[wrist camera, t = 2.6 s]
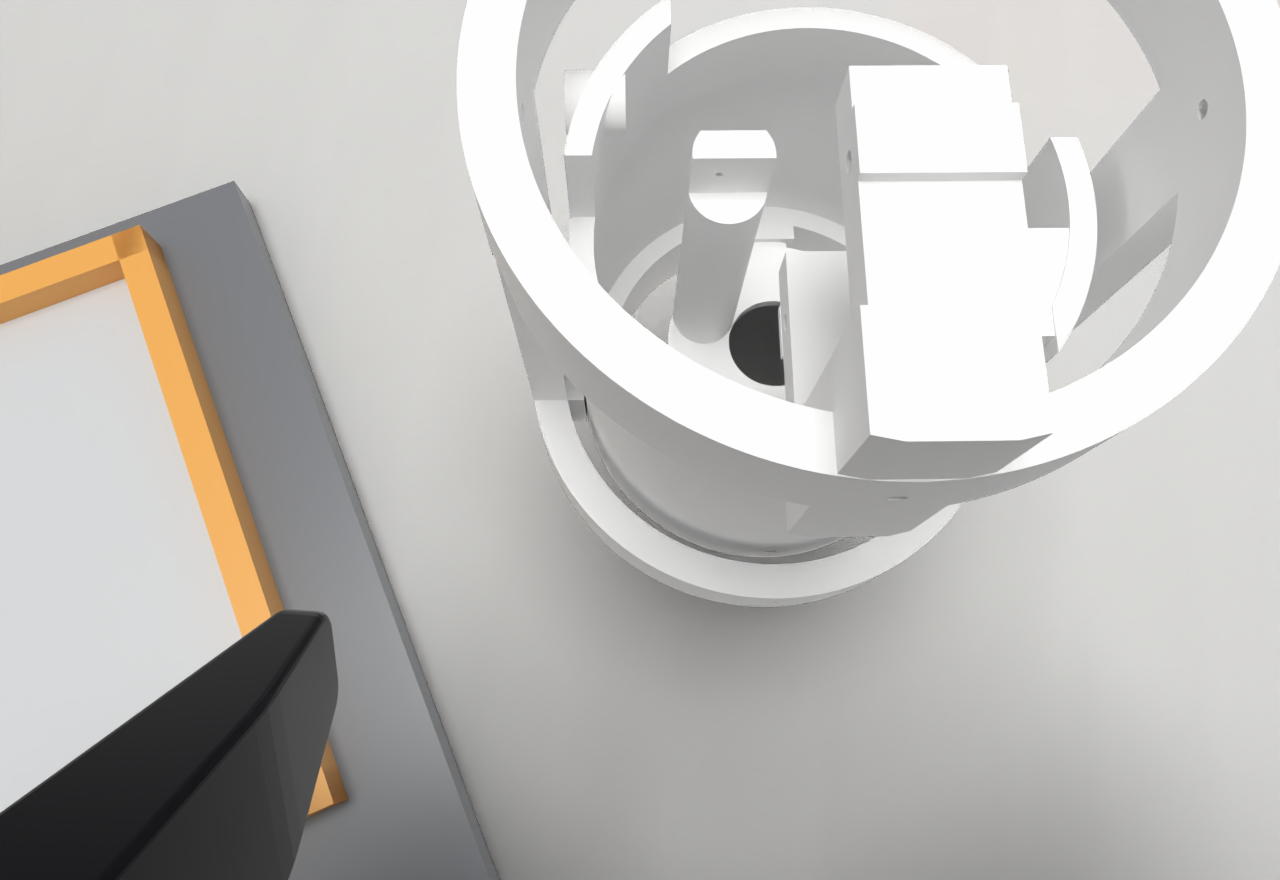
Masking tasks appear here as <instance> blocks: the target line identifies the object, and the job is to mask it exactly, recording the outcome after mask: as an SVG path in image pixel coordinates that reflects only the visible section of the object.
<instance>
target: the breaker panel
mask: <svg viewBox="0 0 1280 880" xmlns="http://www.w3.org/2000/svg"><path fill="white" fill-rule="evenodd" d="M288 609H291V610H306V611H320V612H323V613H325V614H326V615H327V616H328V617H329V619H330V622H331V625H332V631H333V639H334V648H335V656H336V664H337V672H338V682H339V686H338V699H337V705H336V709H335V713H334V717H333V721H332V725H331V728H330V732H329V736H328V740H327V744H326V747H325V751H324V755H323V759H322V763H321V766H320V770H319V774H318V778H317V782H316V785H315V789H314V793H313V797H312V801H311V804H310V808H309V812H308V816H307V820H306V823H305V827H304V831H303V835H302V839H301V842H300V846H299V849H298V853H297V856H296V860H295V863H294V866H293V869H292V872H291V874H290V877H289V880H499V878H498V875H497V872H496V870H495V867H494V864H493V862H492V859H491V856H490V853H489V851H488V848H487V845H486V843H485V840H484V837H483V834H482V832H481V829H480V826H479V824H478V821H477V818H476V815H475V813H474V810H473V807H472V805H471V802H470V799H469V796H468V794H467V791H466V788H465V786H464V783H463V780H462V777H461V775H460V772H459V769H458V767H457V764H456V761H455V758H454V756H453V753H452V750H451V748H450V745H449V742H448V739H447V737H446V734H445V731H444V729H443V726H442V723H441V720H440V718H439V715H438V712H437V710H436V707H435V704H434V701H433V699H432V696H431V693H430V691H429V688H428V685H427V682H426V680H425V677H424V674H423V672H422V669H421V666H420V663H419V661H418V658H417V655H416V653H415V650H414V647H413V644H412V642H411V639H410V636H409V634H408V631H407V628H406V625H405V623H404V620H403V617H402V615H401V612H400V609H399V606H398V604H397V601H396V598H395V596H394V593H393V590H392V587H391V585H390V582H389V579H388V577H387V574H386V571H385V568H384V566H383V563H382V560H381V558H380V555H379V552H378V549H377V547H376V544H375V541H374V539H373V536H372V533H371V530H370V528H369V525H368V522H367V520H366V517H365V514H364V511H363V509H362V506H361V503H360V501H359V498H358V495H357V492H356V490H355V487H354V484H353V482H352V479H351V476H350V473H349V471H348V468H347V465H346V463H345V460H344V457H343V454H342V452H341V449H340V446H339V444H338V441H337V438H336V435H335V433H334V430H333V427H332V425H331V422H330V419H329V416H328V414H327V411H326V408H325V406H324V403H323V400H322V397H321V395H320V392H319V389H318V387H317V384H316V381H315V378H314V376H313V373H312V370H311V368H310V365H309V362H308V359H307V357H306V354H305V351H304V349H303V346H302V343H301V340H300V338H299V335H298V332H297V330H296V327H295V324H294V321H293V319H292V316H291V313H290V311H289V308H288V305H287V302H286V300H285V297H284V294H283V292H282V289H281V286H280V283H279V281H278V278H277V275H276V273H275V270H274V267H273V264H272V262H271V259H270V256H269V254H268V251H267V248H266V245H265V243H264V240H263V237H262V235H261V232H260V229H259V226H258V224H257V221H256V218H255V216H254V213H253V210H252V207H251V205H250V203H249V201H248V200H247V199H246V197H245V196H244V194H243V193H242V192H241V190H240V189H239V187H238V186H237V185H236V183H235V182H234V181H232V182H230V183H227V184H224V185H221V186H219V187H216V188H213V189H210V190H208V191H205V192H202V193H199V194H197V195H194V196H191V197H188V198H185V199H183V200H180V201H177V202H174V203H172V204H169V205H166V206H163V207H161V208H158V209H155V210H152V211H150V212H147V213H144V214H141V215H138V216H136V217H133V218H130V219H127V220H125V221H122V222H119V223H116V224H114V225H111V226H108V227H105V228H103V229H100V230H97V231H94V232H91V233H89V234H86V235H83V236H80V237H78V238H75V239H72V240H69V241H67V242H64V243H61V244H58V245H56V246H53V247H50V248H47V249H44V250H42V251H39V252H36V253H33V254H31V255H28V256H25V257H22V258H20V259H17V260H14V261H11V262H9V263H6V264H3V265H0V812H2V811H3V810H4V809H6V808H7V807H9V806H10V805H11V804H13V803H14V802H15V801H17V800H18V799H20V798H21V797H22V796H24V795H25V794H26V793H28V792H29V791H31V790H32V789H33V788H35V787H36V786H38V785H39V784H40V783H42V782H43V781H44V780H46V779H47V778H49V777H50V776H51V775H53V774H54V773H56V772H57V771H58V770H60V769H61V768H62V767H64V766H65V765H67V764H68V763H69V762H71V761H72V760H73V759H75V758H76V757H78V756H79V755H80V754H82V753H83V752H85V751H86V750H87V749H89V748H90V747H91V746H93V745H94V744H96V743H97V742H98V741H100V740H101V739H103V738H104V737H105V736H107V735H108V734H109V733H111V732H112V731H114V730H115V729H116V728H118V727H119V726H120V725H122V724H123V723H125V722H126V721H127V720H129V719H130V718H132V717H133V716H134V715H136V714H137V713H138V712H140V711H141V710H143V709H144V708H145V707H147V706H148V705H150V704H151V703H152V702H154V701H155V700H156V699H158V698H159V697H161V696H162V695H163V694H165V693H166V692H167V691H169V690H170V689H172V688H173V687H174V686H176V685H177V684H179V683H180V682H181V681H183V680H184V679H185V678H187V677H188V676H190V675H191V674H192V673H194V672H195V671H196V670H198V669H199V668H201V667H202V666H203V665H205V664H206V663H208V662H209V661H210V660H212V659H213V658H214V657H216V656H217V655H219V654H220V653H221V652H223V651H224V650H226V649H227V648H228V647H230V646H231V645H232V644H234V643H235V642H237V641H238V640H239V639H241V638H242V637H243V636H245V635H246V634H248V633H249V632H250V631H252V630H253V629H255V628H256V627H257V626H259V625H260V624H261V623H263V622H264V621H266V620H267V619H268V618H270V617H271V616H273V615H274V614H276V613H277V612H279V611H282V610H288Z"/></svg>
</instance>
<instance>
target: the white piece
mask: <svg viewBox="0 0 1280 880" xmlns="http://www.w3.org/2000/svg"><path fill="white" fill-rule="evenodd" d="M574 1H575V0H468V1H467V5H466V9H465V13H464V18H463V23H462V28H461V34H460V41H459V49H458V60H457V107H458V119H459V127H460V134H461V140H462V145H463V151H464V155H465V160H466V164H467V168H468V171H469V175H470V179H471V182H472V186H473V189H474V193H475V196H476V200H477V203H478V207H479V211H480V214H481V218H482V221H483V225H484V228H485V232H486V236H487V239H488V242H489V246H490V249H491V252H492V255H494V257H495V259H496V263H497V266H498V270H499V273H500V277H501V281H502V284H503V288H504V292H505V295H506V299H507V302H508V306H509V310H510V313H511V317H512V321H513V324H514V328H515V332H516V335H517V339H518V342H519V346H520V350H521V353H522V357H523V361H524V364H525V368H526V371H527V375H528V379H529V382H530V386H531V390H532V393H533V397H534V401H535V407H536V412H537V416H538V421H539V424H540V428H541V431H542V435H543V439H544V442H545V446H546V449H547V452H548V455H549V458H550V461H551V464H552V466H553V469H554V471H555V474H556V476H557V478H558V480H559V482H560V484H561V486H562V488H563V490H564V492H565V493H566V495H567V497H568V498H569V500H570V502H571V503H572V505H573V506H574V508H575V509H576V511H577V512H578V513H579V515H580V516H581V517H582V519H583V520H584V521H585V522H586V524H587V525H588V526H589V527H590V528H591V530H592V531H593V532H594V533H595V534H596V535H597V536H598V537H599V538H600V539H601V540H602V541H603V542H604V543H605V544H606V545H607V546H608V547H609V548H610V549H612V550H613V551H614V552H615V553H616V554H617V555H619V556H620V557H621V558H623V559H624V560H625V561H626V562H628V563H629V564H631V565H632V566H634V567H635V568H637V569H638V570H640V571H641V572H643V573H644V574H646V575H648V576H650V577H651V578H653V579H655V580H657V581H659V582H661V583H663V584H665V585H667V586H669V587H672V588H674V589H676V590H679V591H681V592H684V593H687V594H690V595H693V596H696V597H699V598H703V599H706V600H710V601H715V602H719V603H725V604H731V605H739V606H750V607H779V606H790V605H798V604H804V603H809V602H814V601H818V600H822V599H826V598H829V597H832V596H836V595H838V594H841V593H844V592H847V591H849V590H851V589H854V588H856V587H858V586H860V585H862V584H864V583H866V582H868V581H870V580H872V579H874V578H875V577H877V576H879V575H881V574H882V573H884V572H886V571H887V570H889V569H891V568H892V567H894V566H896V565H897V564H899V563H901V562H902V561H904V560H905V559H907V558H908V557H910V556H911V555H912V554H914V553H915V552H916V551H918V550H919V549H920V548H921V547H923V546H924V545H925V544H926V543H927V542H929V541H930V540H931V539H932V538H933V537H934V536H935V535H936V534H937V533H938V532H939V531H940V530H941V529H942V528H943V527H944V526H945V525H946V524H947V523H948V521H949V520H950V519H951V518H952V517H953V515H954V514H955V513H956V512H957V510H958V509H959V508H960V506H961V505H962V503H963V502H967V501H971V500H975V499H979V498H983V497H987V496H990V495H994V494H997V493H1000V492H1003V491H1006V490H1009V489H1012V488H1015V487H1018V486H1020V485H1023V484H1025V483H1028V482H1030V481H1033V480H1035V479H1037V478H1040V477H1042V476H1044V475H1046V474H1048V473H1050V472H1052V471H1054V470H1056V469H1058V468H1060V467H1062V466H1064V465H1066V464H1068V463H1069V462H1071V461H1073V460H1075V459H1076V458H1078V457H1080V456H1081V455H1083V454H1085V453H1086V452H1088V451H1090V450H1092V449H1093V448H1095V447H1097V446H1098V445H1100V444H1102V443H1103V442H1105V441H1107V440H1108V439H1110V438H1112V437H1113V436H1115V435H1117V434H1119V433H1120V432H1122V431H1124V430H1125V429H1127V428H1129V427H1130V426H1132V425H1134V424H1135V423H1137V422H1139V421H1140V420H1142V419H1144V418H1145V417H1147V416H1148V415H1150V414H1152V413H1153V412H1155V411H1156V410H1157V409H1159V408H1160V407H1162V406H1163V405H1165V404H1166V403H1167V402H1169V401H1170V400H1171V399H1173V398H1174V397H1175V396H1177V395H1178V394H1179V393H1180V392H1182V391H1183V390H1184V389H1185V388H1187V387H1188V386H1189V385H1190V384H1191V383H1192V382H1194V381H1195V380H1196V379H1197V378H1198V377H1199V376H1200V375H1201V374H1202V373H1203V372H1204V371H1205V370H1207V369H1208V368H1209V367H1210V366H1211V365H1212V364H1213V363H1214V361H1215V360H1216V359H1217V358H1218V357H1219V356H1220V355H1221V354H1222V353H1223V352H1224V351H1225V349H1226V348H1227V347H1228V346H1229V345H1230V344H1231V342H1232V341H1233V340H1234V339H1235V338H1236V336H1237V335H1238V334H1239V332H1240V331H1241V330H1242V328H1243V327H1244V326H1245V324H1246V323H1247V322H1248V320H1249V319H1250V317H1251V316H1252V314H1253V313H1254V311H1255V310H1256V308H1257V306H1258V305H1259V303H1260V302H1261V300H1262V298H1263V296H1264V295H1265V293H1266V291H1267V289H1268V287H1269V286H1270V284H1271V282H1272V280H1273V278H1274V276H1275V274H1276V271H1277V269H1278V267H1279V265H1280V8H1279V6H1278V3H1277V1H1276V0H1107V1H1108V2H1109V3H1110V4H1111V5H1112V7H1113V8H1114V9H1115V10H1116V12H1117V13H1118V14H1119V16H1120V17H1121V18H1122V20H1123V21H1124V22H1125V24H1126V25H1127V27H1128V28H1129V30H1130V31H1131V33H1132V34H1133V36H1134V37H1135V39H1136V41H1137V42H1138V44H1139V46H1140V47H1141V49H1142V51H1143V53H1144V54H1145V56H1146V58H1147V60H1148V62H1149V64H1150V66H1151V68H1152V70H1153V73H1154V75H1155V77H1156V79H1157V82H1158V84H1159V87H1160V91H1159V92H1158V93H1157V94H1156V95H1155V96H1154V98H1153V99H1152V100H1151V101H1150V102H1149V104H1148V105H1147V106H1146V107H1145V108H1144V110H1143V111H1142V112H1141V113H1140V114H1139V115H1138V117H1137V118H1136V119H1135V120H1134V121H1133V123H1132V124H1131V125H1130V126H1129V127H1128V129H1127V130H1126V131H1125V132H1124V133H1123V134H1122V136H1121V137H1120V138H1119V139H1118V140H1117V142H1116V143H1115V144H1114V145H1113V146H1112V148H1111V149H1110V150H1109V151H1108V152H1107V153H1106V155H1105V156H1104V157H1103V158H1102V159H1101V161H1100V162H1099V163H1098V164H1097V165H1096V167H1095V168H1094V169H1093V170H1092V171H1091V172H1090V171H1089V167H1088V164H1087V161H1086V158H1085V155H1084V152H1083V149H1082V147H1081V144H1080V142H1079V139H1078V137H1050V138H1049V139H1048V141H1047V142H1046V144H1045V145H1044V146H1043V148H1042V149H1041V151H1040V152H1039V153H1038V155H1037V156H1036V157H1035V159H1034V160H1033V162H1032V163H1031V164H1030V166H1029V167H1028V169H1027V162H1026V154H1025V147H1024V139H1023V131H1022V124H1021V116H1020V108H1019V103H1012V99H1011V97H1012V95H1011V91H1010V84H1009V76H1008V68H1007V65H978V64H976V63H975V62H974V61H972V60H971V59H969V58H968V57H967V56H965V55H964V54H962V53H961V52H959V51H957V50H956V49H954V48H953V47H951V46H949V45H947V44H946V43H944V42H942V41H940V40H938V39H936V38H934V37H932V36H930V35H928V34H926V33H924V32H922V31H919V30H917V29H915V28H912V27H910V26H907V25H904V24H902V23H899V22H896V21H893V20H889V19H886V18H882V17H879V16H875V15H871V14H866V13H861V12H856V11H850V10H843V9H834V8H820V7H793V8H780V9H771V10H764V11H758V12H753V13H748V14H744V15H740V16H736V17H732V18H729V19H726V20H723V21H720V22H717V23H714V24H711V25H709V26H706V27H704V28H702V29H699V30H697V31H695V32H693V33H691V34H689V35H687V36H685V37H683V38H681V39H679V40H678V41H676V42H674V43H672V44H671V45H670V31H671V8H670V0H662V1H660V2H659V3H657V4H656V5H655V6H653V7H652V8H651V9H649V10H648V11H647V12H646V13H644V14H643V15H642V16H641V17H640V18H639V19H637V20H636V21H635V22H634V23H633V24H632V25H631V26H630V27H629V28H628V29H627V30H626V31H625V32H624V33H623V34H622V35H621V36H620V37H619V38H618V40H617V41H616V42H615V43H614V44H613V45H612V47H611V48H610V49H609V50H608V52H607V53H606V54H605V56H604V57H603V58H602V60H601V61H600V63H599V64H598V66H597V67H596V69H595V70H565V78H564V97H565V123H566V134H567V135H568V136H567V140H566V145H565V151H564V162H565V171H566V181H567V190H568V200H569V209H570V224H569V245H568V243H567V242H566V240H565V238H564V237H563V235H562V234H561V232H560V230H559V229H558V227H557V225H556V223H555V222H554V220H553V218H552V216H551V210H550V203H549V195H548V188H547V181H546V174H545V167H544V160H543V153H542V146H541V139H540V132H539V125H538V118H537V111H536V104H535V97H534V89H535V85H536V81H537V78H538V74H539V71H540V68H541V65H542V62H543V59H544V57H545V54H546V52H547V49H548V47H549V45H550V42H551V40H552V38H553V36H554V34H555V32H556V30H557V28H558V26H559V25H560V23H561V21H562V19H563V18H564V16H565V14H566V13H567V11H568V10H569V8H570V6H571V5H572V4H573V2H574ZM1170 244H1171V247H1170V251H1169V254H1168V258H1167V261H1166V264H1165V267H1164V270H1163V272H1162V275H1161V278H1160V280H1159V283H1158V285H1157V287H1156V289H1155V292H1154V294H1153V296H1152V298H1151V300H1150V302H1149V304H1148V305H1147V307H1146V309H1145V311H1144V313H1143V314H1142V316H1141V317H1140V319H1139V321H1138V322H1137V324H1136V325H1135V327H1134V328H1133V330H1132V331H1131V332H1130V334H1129V335H1128V337H1127V338H1126V339H1125V341H1124V342H1123V343H1122V344H1121V346H1120V347H1119V348H1118V349H1117V350H1116V352H1115V353H1114V354H1113V355H1112V356H1111V357H1110V358H1109V359H1108V360H1107V361H1106V362H1105V363H1104V365H1103V366H1102V367H1101V368H1099V369H1098V370H1097V371H1095V372H1093V373H1091V374H1089V375H1088V376H1086V377H1084V378H1082V379H1080V380H1078V381H1076V382H1074V383H1072V384H1069V385H1067V386H1065V387H1063V388H1060V389H1058V390H1056V391H1053V392H1051V393H1049V387H1048V380H1047V372H1046V363H1047V362H1048V361H1049V360H1050V359H1051V358H1053V357H1054V356H1055V355H1056V354H1057V353H1058V352H1059V351H1060V350H1061V348H1062V347H1063V345H1064V343H1065V342H1066V340H1067V338H1068V337H1069V335H1070V333H1071V332H1072V331H1073V330H1074V329H1075V328H1076V327H1077V326H1079V325H1080V324H1081V323H1082V322H1083V321H1084V320H1085V319H1087V318H1088V317H1089V316H1090V315H1091V314H1092V313H1093V312H1094V311H1096V310H1097V309H1098V308H1099V307H1100V306H1101V305H1102V304H1104V303H1105V302H1106V301H1107V300H1108V299H1109V298H1110V297H1111V296H1113V295H1114V294H1115V293H1116V292H1117V291H1118V290H1119V289H1121V288H1122V287H1123V286H1124V285H1125V284H1126V283H1127V282H1128V281H1130V280H1131V279H1132V278H1133V277H1134V276H1135V275H1136V274H1138V273H1139V272H1140V271H1141V270H1142V269H1143V268H1144V267H1145V266H1147V265H1148V264H1149V263H1150V262H1151V261H1152V260H1153V259H1155V258H1156V257H1157V256H1158V255H1159V254H1160V253H1161V252H1162V251H1164V250H1165V249H1166V248H1167V247H1168V246H1169V245H1170ZM676 273H678V277H677V285H676V294H675V302H674V311H673V314H672V317H671V321H670V326H669V333H668V342H667V344H666V343H665V342H663V341H662V340H661V339H659V338H658V337H657V336H655V335H654V334H653V333H651V332H650V331H649V330H647V329H646V328H645V327H644V326H642V325H641V324H640V323H639V322H638V321H636V320H635V319H634V318H633V317H632V315H633V314H634V312H635V311H636V309H637V308H638V307H639V306H640V304H641V303H642V302H643V301H644V300H645V299H646V297H647V296H648V295H649V294H650V293H651V292H652V291H654V290H655V289H656V288H657V287H658V286H659V285H661V284H662V283H663V282H664V281H666V280H667V279H669V278H670V277H672V276H673V275H675V274H676ZM587 414H588V420H589V424H590V428H591V432H592V435H593V438H594V441H595V444H596V447H597V449H598V451H599V454H600V456H601V458H602V460H603V462H604V464H605V466H606V468H607V469H608V471H609V473H610V474H611V476H612V477H613V479H614V480H615V482H616V483H617V485H618V486H619V487H620V488H621V490H622V491H623V492H624V493H625V495H626V496H627V497H628V498H629V499H630V500H631V501H632V502H633V503H634V504H635V505H636V506H637V507H638V508H639V509H640V510H641V511H642V512H643V513H644V514H646V515H647V516H648V517H649V518H651V519H652V520H653V521H654V522H656V523H657V524H659V525H660V526H662V527H663V528H665V529H666V530H668V531H669V532H671V533H673V534H675V535H677V536H678V537H680V538H682V539H684V540H687V541H689V542H691V543H693V544H696V545H699V546H701V547H704V548H707V549H710V550H714V551H718V552H722V553H726V554H731V555H738V556H746V557H780V556H788V555H794V554H799V553H804V552H808V551H812V550H815V549H818V548H821V547H824V546H826V545H829V544H831V543H834V542H836V541H838V540H840V539H842V538H844V537H875V538H873V539H871V540H869V541H868V542H866V543H864V544H861V545H859V546H857V547H855V548H853V549H850V550H848V551H845V552H842V553H839V554H836V555H833V556H829V557H826V558H822V559H817V560H812V561H806V562H799V563H789V564H757V563H747V562H740V561H734V560H729V559H725V558H721V557H717V556H713V555H710V554H707V553H704V552H701V551H698V550H696V549H693V548H691V547H688V546H686V545H684V544H682V543H680V542H677V541H676V540H674V539H672V538H670V537H668V536H666V535H665V534H663V533H661V532H660V531H658V530H656V529H655V528H653V527H652V526H650V525H649V524H648V523H646V522H645V521H644V520H642V519H641V518H640V517H639V516H637V515H636V514H635V513H634V512H633V511H631V510H630V509H629V508H628V507H627V506H626V505H625V504H624V503H623V502H622V501H621V500H620V499H619V498H618V497H617V496H616V495H615V494H614V493H613V491H612V490H611V489H610V488H609V487H608V485H607V484H606V483H605V482H604V480H603V479H602V478H601V476H600V475H599V473H598V472H597V470H596V469H595V467H594V466H593V464H592V463H591V461H590V459H589V457H588V455H587V454H586V452H585V450H584V448H583V446H582V443H581V441H580V439H579V437H578V434H577V431H576V429H575V426H574V423H573V421H587ZM876 536H877V537H876Z"/></svg>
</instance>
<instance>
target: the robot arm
mask: <svg viewBox="0 0 1280 880" xmlns="http://www.w3.org/2000/svg"><path fill="white" fill-rule="evenodd" d="M338 686H339V682H338V672H337V664H336V656H335V648H334V639H333V631H332V625H331V622H330V619H329V617H328V616H327V615H326V614H325V613H323V612H320V611H306V610H291V609H288V610H282V611H279V612H277V613H276V614H274V615H273V616H271V617H270V618H268V619H267V620H266V621H264V622H263V623H261V624H260V625H259V626H257V627H256V628H255V629H253V630H252V631H250V632H249V633H248V634H246V635H245V636H243V637H242V638H241V639H239V640H238V641H237V642H235V643H234V644H232V645H231V646H230V647H228V648H227V649H226V650H224V651H223V652H221V653H220V654H219V655H217V656H216V657H214V658H213V659H212V660H210V661H209V662H208V663H206V664H205V665H203V666H202V667H201V668H199V669H198V670H196V671H195V672H194V673H192V674H191V675H190V676H188V677H187V678H185V679H184V680H183V681H181V682H180V683H179V684H177V685H176V686H174V687H173V688H172V689H170V690H169V691H167V692H166V693H165V694H163V695H162V696H161V697H159V698H158V699H156V700H155V701H154V702H152V703H151V704H150V705H148V706H147V707H145V708H144V709H143V710H141V711H140V712H138V713H137V714H136V715H134V716H133V717H132V718H130V719H129V720H127V721H126V722H125V723H123V724H122V725H120V726H119V727H118V728H116V729H115V730H114V731H112V732H111V733H109V734H108V735H107V736H105V737H104V738H103V739H101V740H100V741H98V742H97V743H96V744H94V745H93V746H91V747H90V748H89V749H87V750H86V751H85V752H83V753H82V754H80V755H79V756H78V757H76V758H75V759H73V760H72V761H71V762H69V763H68V764H67V765H65V766H64V767H62V768H61V769H60V770H58V771H57V772H56V773H54V774H53V775H51V776H50V777H49V778H47V779H46V780H44V781H43V782H42V783H40V784H39V785H38V786H36V787H35V788H33V789H32V790H31V791H29V792H28V793H26V794H25V795H24V796H22V797H21V798H20V799H18V800H17V801H15V802H14V803H13V804H11V805H10V806H9V807H7V808H6V809H4V810H3V811H2V812H0V880H289V877H290V874H291V872H292V869H293V866H294V863H295V860H296V856H297V853H298V849H299V846H300V842H301V839H302V835H303V831H304V827H305V823H306V820H307V816H308V812H309V808H310V804H311V801H312V797H313V793H314V789H315V785H316V782H317V778H318V774H319V770H320V766H321V763H322V759H323V755H324V751H325V747H326V744H327V740H328V736H329V732H330V728H331V725H332V721H333V717H334V713H335V709H336V705H337V699H338Z"/></svg>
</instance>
